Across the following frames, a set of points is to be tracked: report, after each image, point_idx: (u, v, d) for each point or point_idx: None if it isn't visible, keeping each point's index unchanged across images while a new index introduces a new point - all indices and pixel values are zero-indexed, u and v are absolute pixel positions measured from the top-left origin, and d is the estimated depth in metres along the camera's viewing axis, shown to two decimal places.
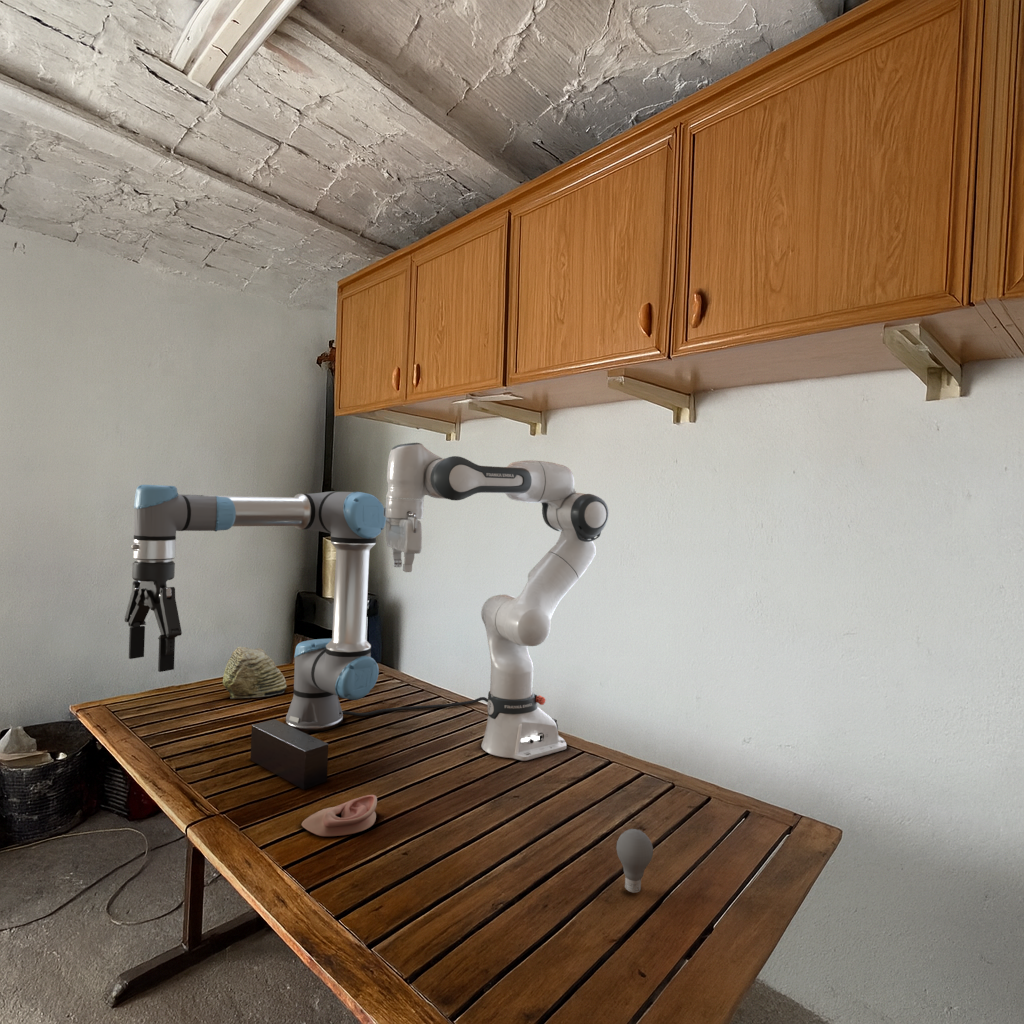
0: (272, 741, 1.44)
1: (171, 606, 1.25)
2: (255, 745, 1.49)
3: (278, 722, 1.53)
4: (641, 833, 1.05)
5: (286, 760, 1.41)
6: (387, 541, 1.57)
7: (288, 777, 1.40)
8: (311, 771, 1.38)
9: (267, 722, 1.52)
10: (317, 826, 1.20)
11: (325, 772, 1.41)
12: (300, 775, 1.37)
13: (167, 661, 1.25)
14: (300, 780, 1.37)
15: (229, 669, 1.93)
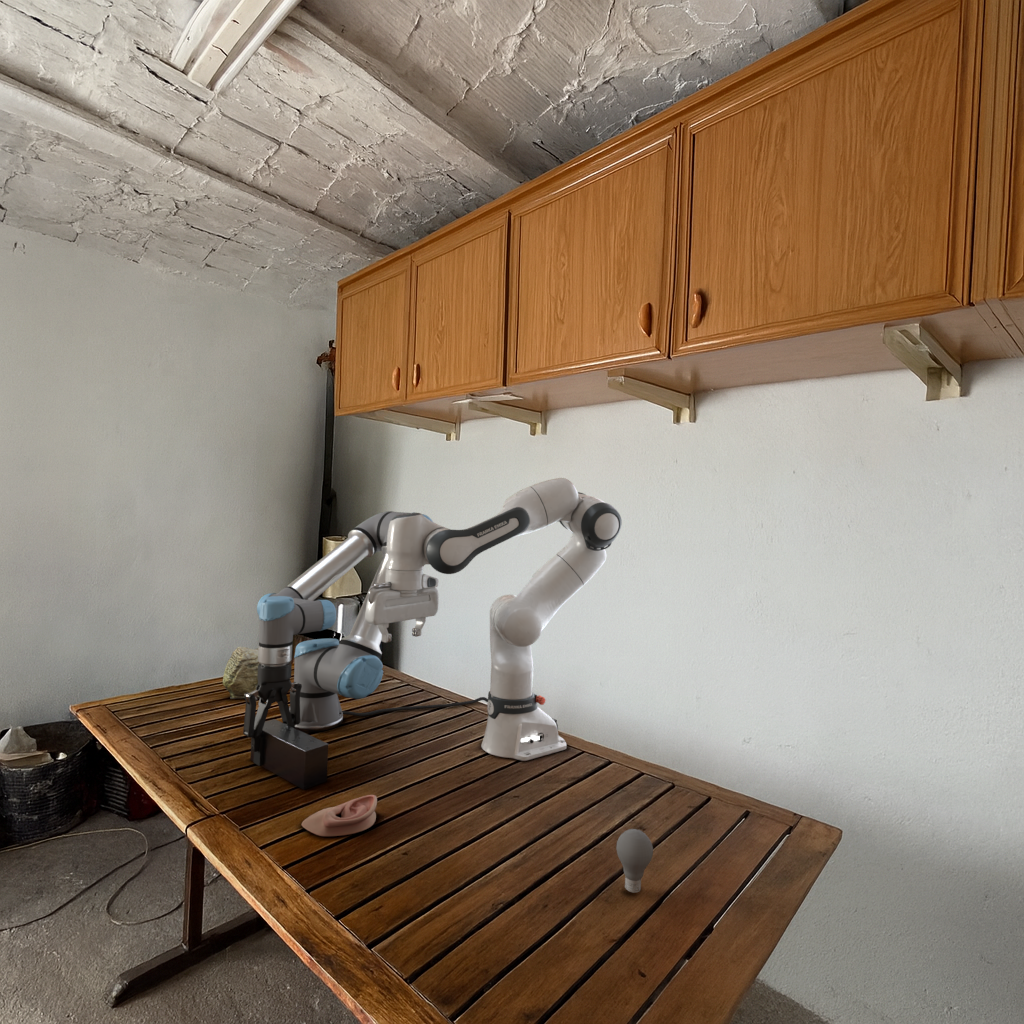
0: (272, 741, 1.44)
1: None
2: None
3: (278, 722, 1.53)
4: (641, 833, 1.05)
5: (286, 760, 1.41)
6: None
7: (288, 777, 1.40)
8: (311, 771, 1.38)
9: (267, 722, 1.52)
10: (317, 826, 1.20)
11: (325, 772, 1.41)
12: (300, 775, 1.37)
13: None
14: (300, 780, 1.37)
15: (229, 669, 1.93)
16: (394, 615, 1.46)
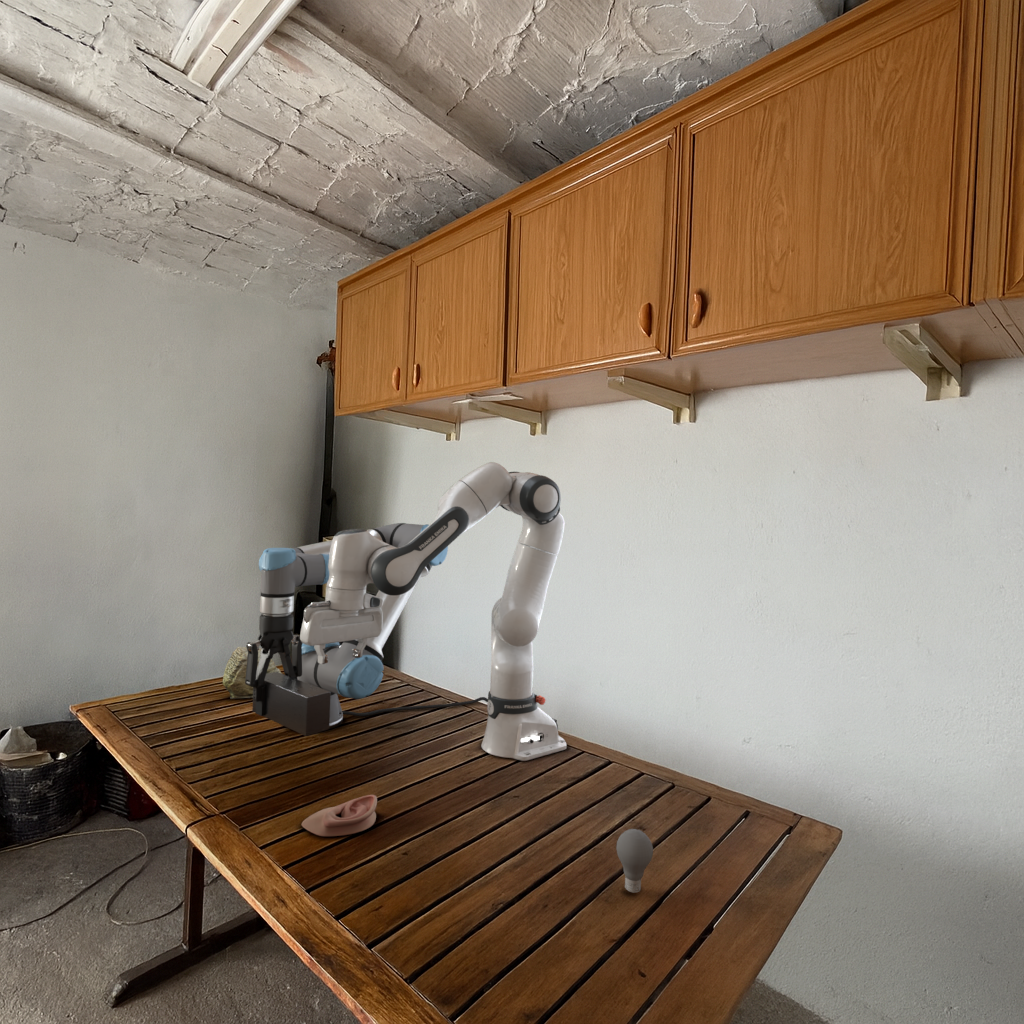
0: (274, 690, 1.44)
1: None
2: None
3: (280, 674, 1.52)
4: (641, 833, 1.05)
5: (288, 708, 1.41)
6: None
7: (290, 725, 1.40)
8: (313, 718, 1.38)
9: (269, 674, 1.52)
10: (317, 826, 1.20)
11: (327, 720, 1.40)
12: (302, 722, 1.37)
13: None
14: (302, 726, 1.37)
15: (229, 669, 1.93)
16: (332, 635, 1.40)
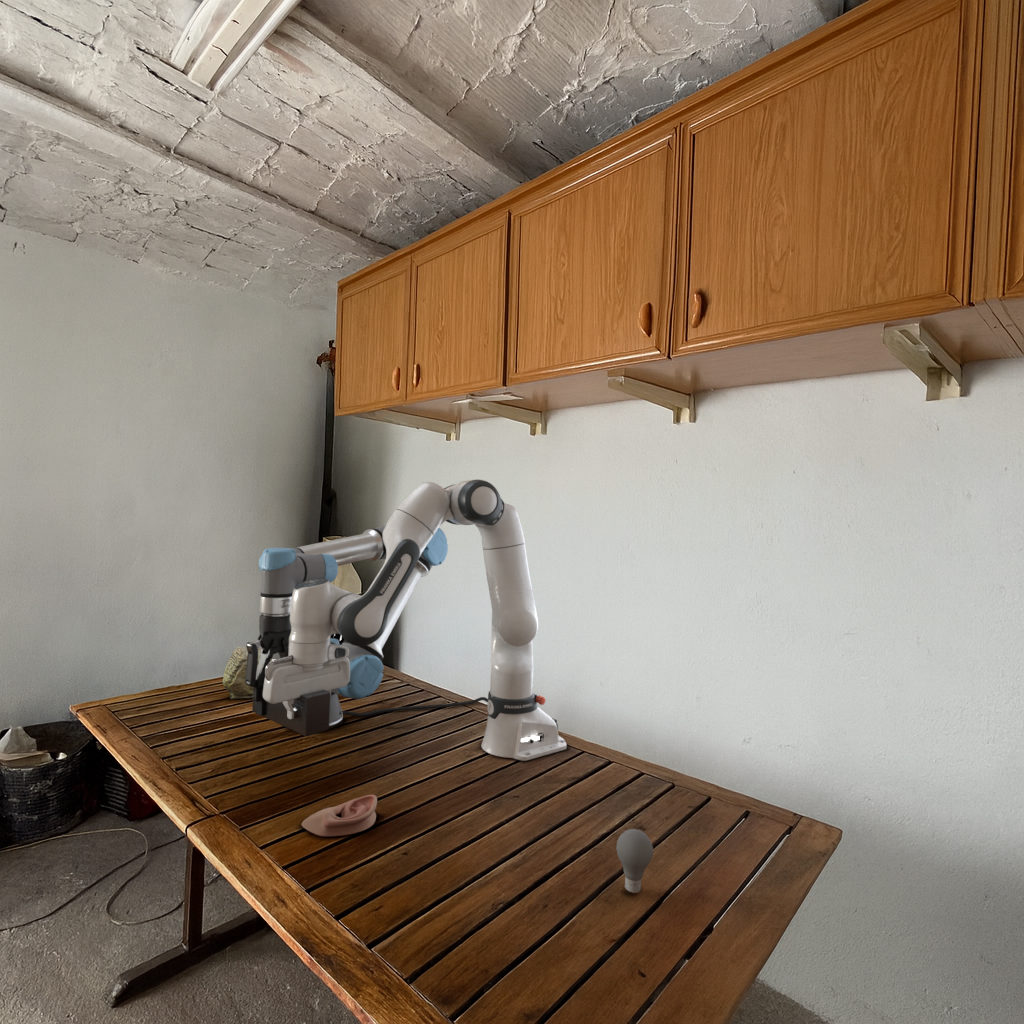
0: None
1: None
2: None
3: None
4: (641, 833, 1.05)
5: None
6: None
7: (290, 725, 1.40)
8: (313, 718, 1.38)
9: None
10: (317, 826, 1.20)
11: (326, 720, 1.40)
12: (302, 722, 1.37)
13: None
14: (302, 727, 1.37)
15: (229, 669, 1.93)
16: (296, 691, 1.37)
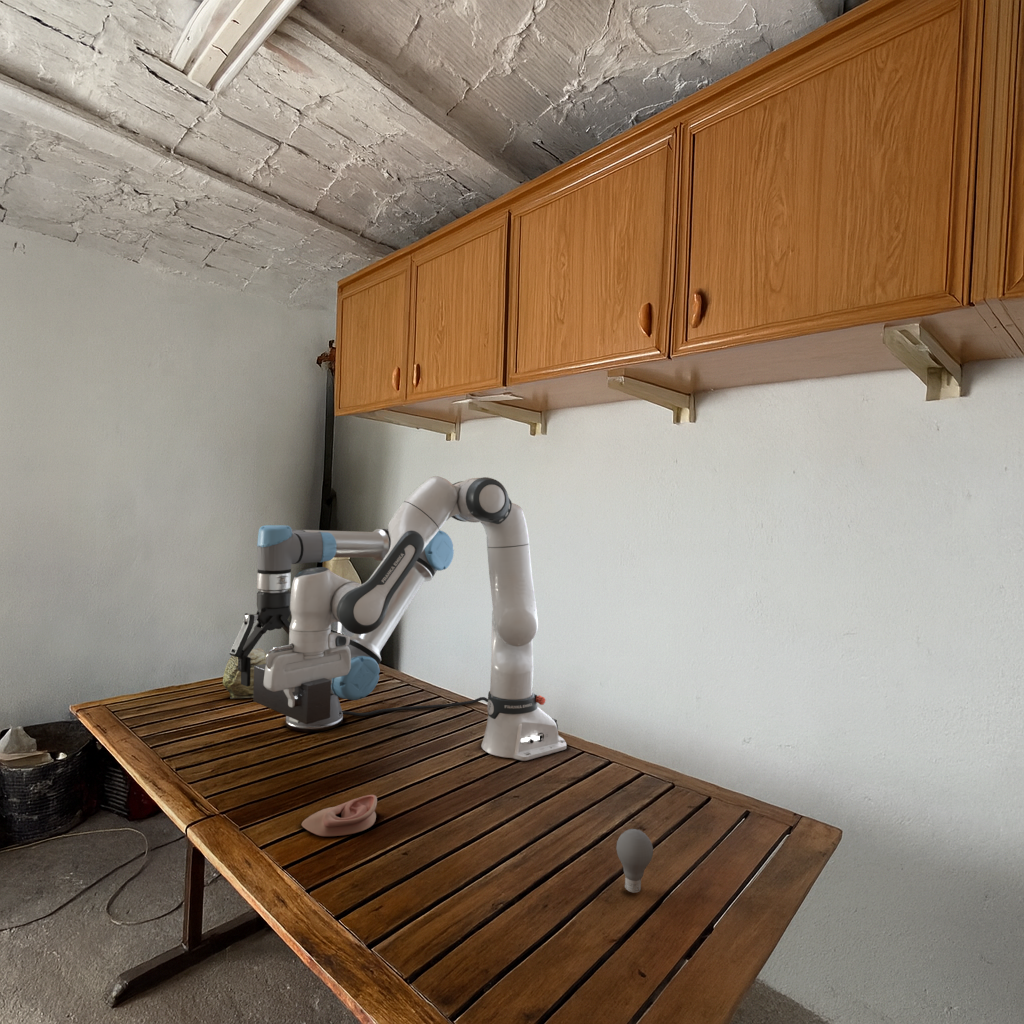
0: None
1: None
2: (258, 685, 1.49)
3: None
4: (641, 833, 1.05)
5: None
6: None
7: (291, 714, 1.40)
8: (313, 706, 1.37)
9: None
10: (317, 826, 1.20)
11: (327, 708, 1.40)
12: (303, 711, 1.37)
13: None
14: (303, 715, 1.37)
15: (229, 669, 1.93)
16: (297, 679, 1.37)
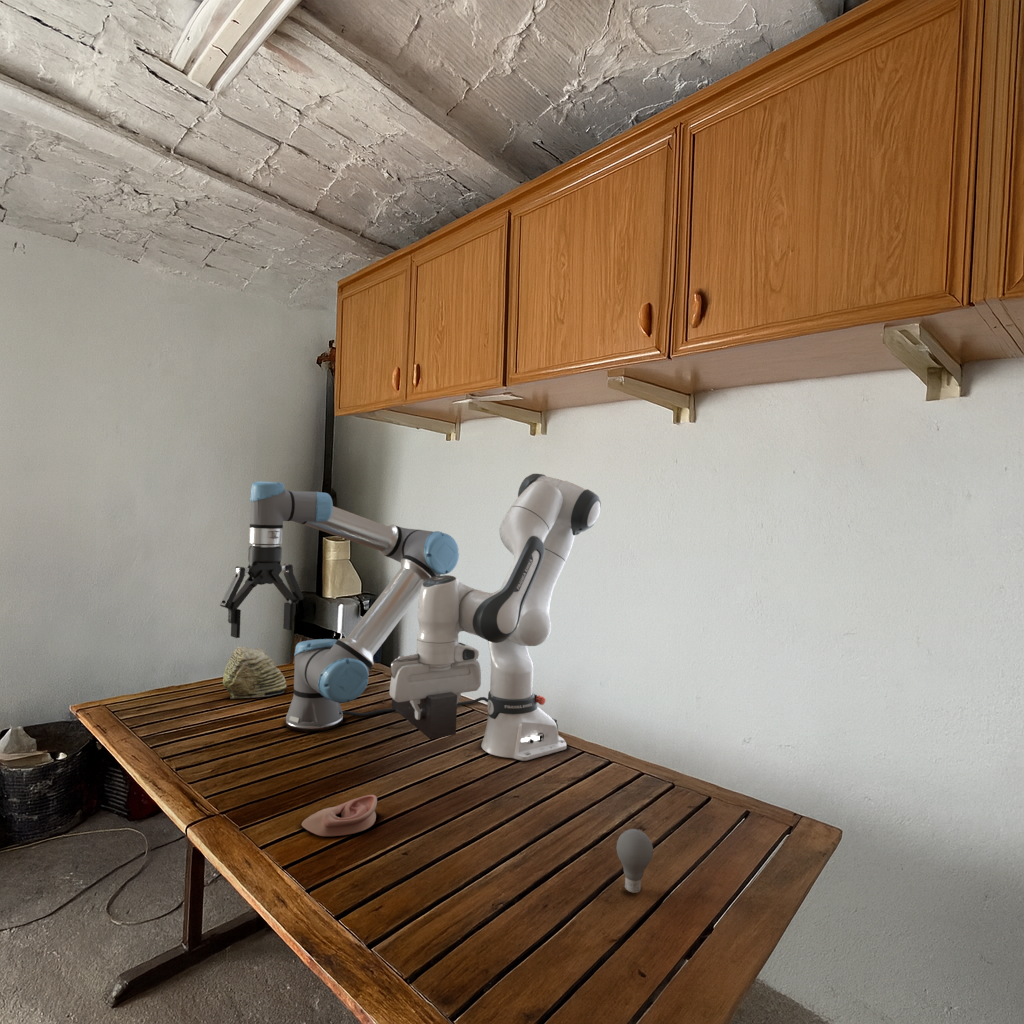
0: None
1: None
2: None
3: None
4: (641, 833, 1.05)
5: None
6: None
7: (419, 726, 1.36)
8: (438, 721, 1.32)
9: None
10: (317, 826, 1.20)
11: (453, 724, 1.34)
12: (427, 724, 1.32)
13: None
14: (428, 729, 1.32)
15: (229, 669, 1.93)
16: (422, 691, 1.32)
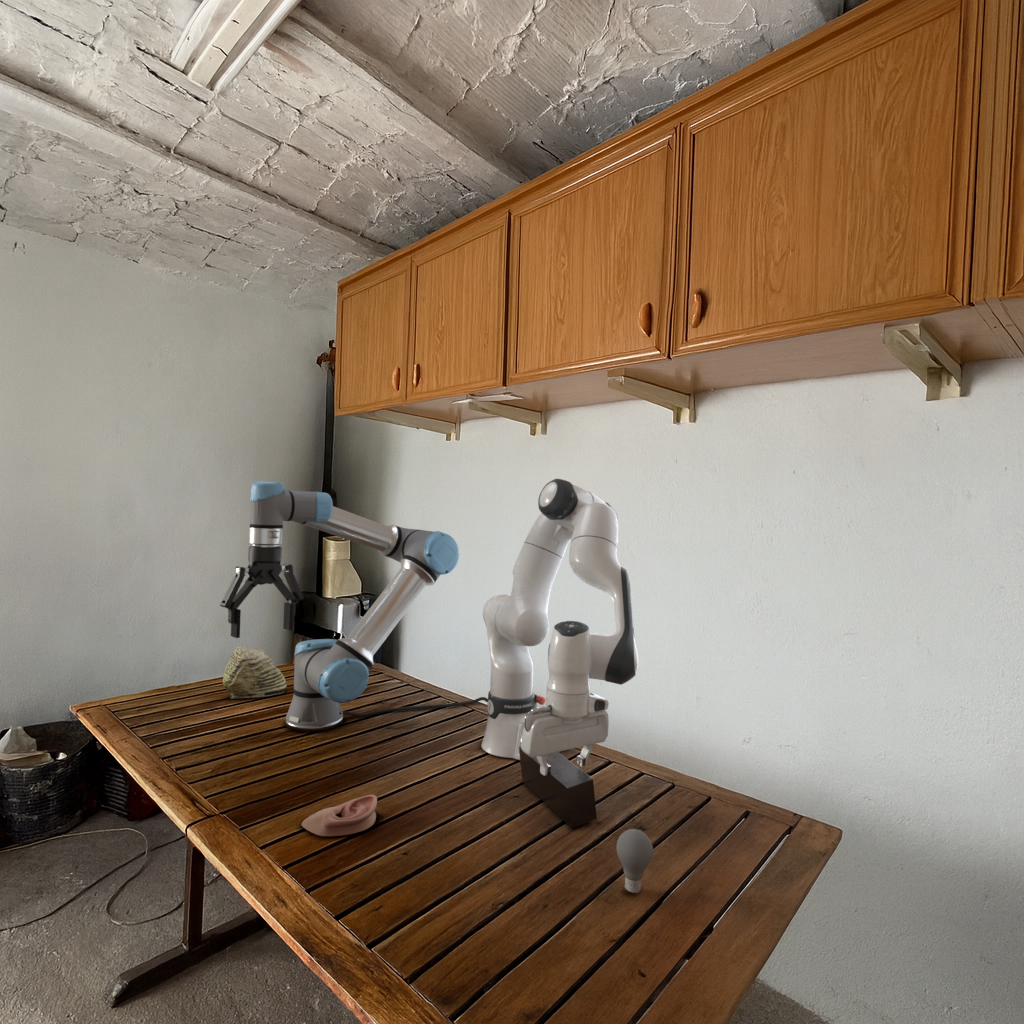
0: (537, 768, 1.36)
1: None
2: (524, 768, 1.43)
3: None
4: (641, 833, 1.05)
5: (552, 792, 1.31)
6: None
7: (556, 810, 1.30)
8: (577, 809, 1.26)
9: None
10: (317, 826, 1.20)
11: (593, 809, 1.27)
12: (566, 812, 1.26)
13: None
14: (567, 817, 1.26)
15: (229, 669, 1.93)
16: (554, 744, 1.26)
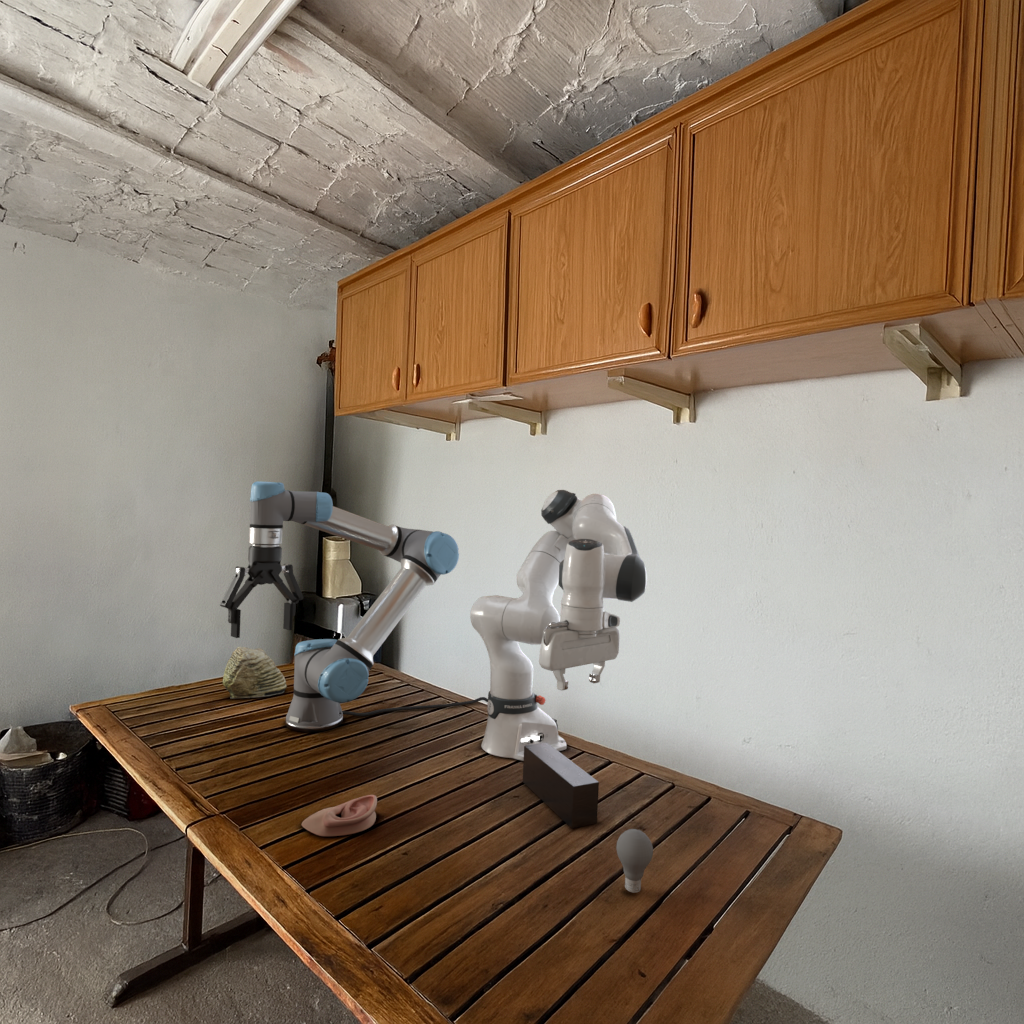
0: (542, 767, 1.37)
1: None
2: (527, 767, 1.43)
3: (550, 747, 1.45)
4: (641, 833, 1.05)
5: (555, 791, 1.31)
6: None
7: (557, 810, 1.30)
8: (579, 809, 1.26)
9: (539, 745, 1.45)
10: (317, 826, 1.20)
11: (594, 813, 1.27)
12: (568, 812, 1.26)
13: None
14: (568, 816, 1.26)
15: (229, 669, 1.93)
16: (572, 659, 1.26)
